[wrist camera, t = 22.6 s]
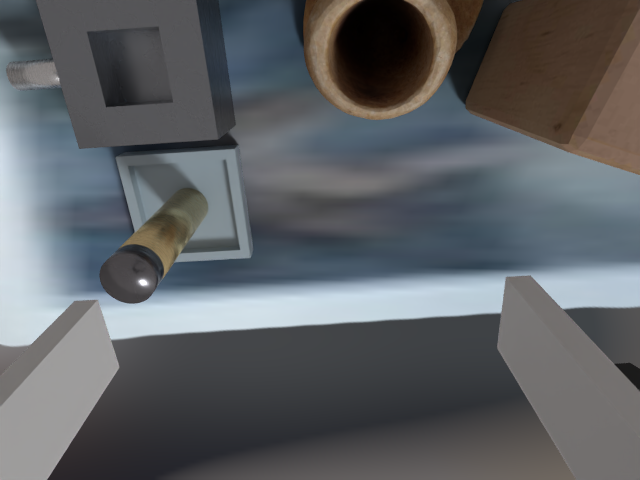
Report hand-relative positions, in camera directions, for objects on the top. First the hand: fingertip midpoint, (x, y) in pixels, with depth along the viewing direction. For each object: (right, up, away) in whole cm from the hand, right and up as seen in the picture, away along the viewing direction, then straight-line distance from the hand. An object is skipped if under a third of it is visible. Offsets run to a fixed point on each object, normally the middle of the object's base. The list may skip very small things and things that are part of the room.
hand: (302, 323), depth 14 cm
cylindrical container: (-13, +6, +32) cm, 35 cm away
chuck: (-17, +19, +27) cm, 38 cm away
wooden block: (+21, +19, +28) cm, 39 cm away
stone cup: (+6, +22, +26) cm, 35 cm away
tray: (-14, +7, +33) cm, 36 cm away
